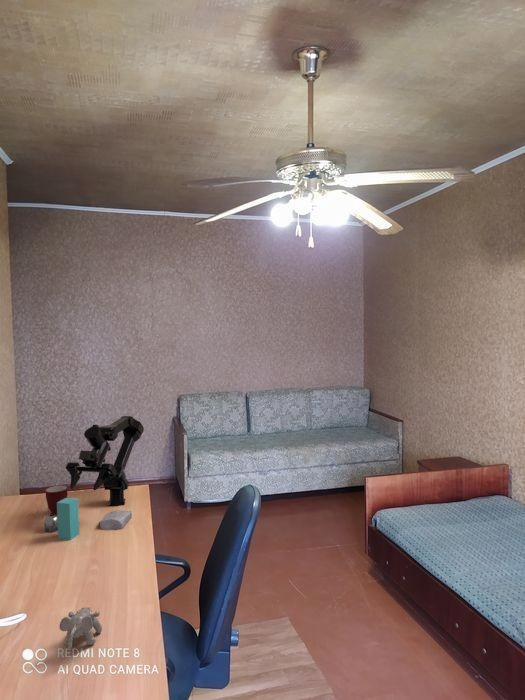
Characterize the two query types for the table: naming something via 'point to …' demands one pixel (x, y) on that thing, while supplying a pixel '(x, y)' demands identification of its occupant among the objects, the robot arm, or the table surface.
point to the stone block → (116, 519)
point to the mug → (55, 497)
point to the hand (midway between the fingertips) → (82, 489)
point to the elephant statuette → (80, 626)
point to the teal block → (68, 518)
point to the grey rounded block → (51, 523)
